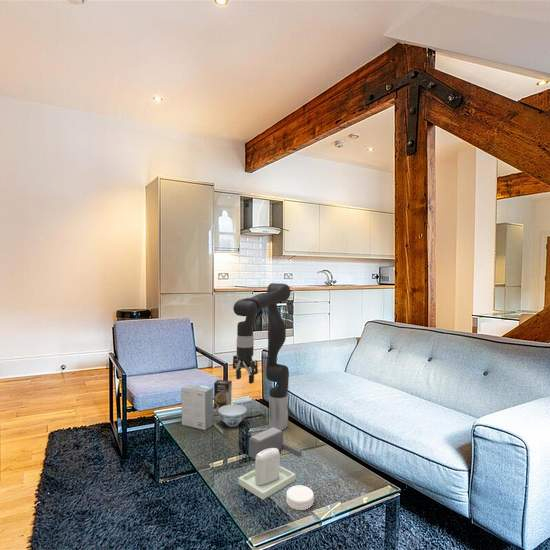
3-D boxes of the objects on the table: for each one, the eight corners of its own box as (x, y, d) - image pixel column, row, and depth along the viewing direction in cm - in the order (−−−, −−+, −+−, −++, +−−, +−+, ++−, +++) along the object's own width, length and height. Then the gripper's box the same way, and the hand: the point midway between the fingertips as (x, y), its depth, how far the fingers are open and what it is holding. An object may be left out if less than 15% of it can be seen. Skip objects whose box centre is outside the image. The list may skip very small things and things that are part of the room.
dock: (275, 443, 182) (275, 425, 182) (301, 455, 171) (301, 436, 170) (246, 457, 169) (246, 438, 168) (272, 471, 158) (272, 450, 157)
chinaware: (250, 419, 208) (250, 406, 208) (241, 431, 194) (241, 416, 193) (224, 416, 212) (224, 403, 212) (213, 428, 197) (213, 413, 197)
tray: (270, 466, 161) (270, 460, 161) (295, 480, 152) (295, 474, 151) (238, 483, 148) (238, 477, 148) (263, 500, 139) (263, 493, 139)
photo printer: (274, 473, 155) (275, 443, 154) (281, 478, 151) (281, 448, 151) (253, 482, 149) (253, 451, 148) (259, 487, 145) (259, 455, 145)
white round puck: (317, 509, 134) (317, 499, 134) (290, 512, 132) (290, 502, 132) (309, 492, 144) (309, 483, 144) (283, 495, 142) (283, 486, 142)
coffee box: (213, 410, 221) (213, 382, 220) (216, 406, 227) (217, 379, 227) (228, 411, 219) (228, 383, 219) (231, 407, 226) (231, 380, 225)
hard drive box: (213, 424, 201) (213, 387, 201) (205, 430, 194) (205, 392, 194) (189, 419, 208) (189, 383, 207) (180, 424, 201) (180, 387, 200)
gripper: (262, 346, 168) (261, 382, 168) (241, 341, 178) (240, 375, 178) (249, 349, 162) (249, 386, 163) (228, 343, 172) (228, 379, 173)
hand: (244, 381), depth 171 cm, fingers open, 8 cm apart
